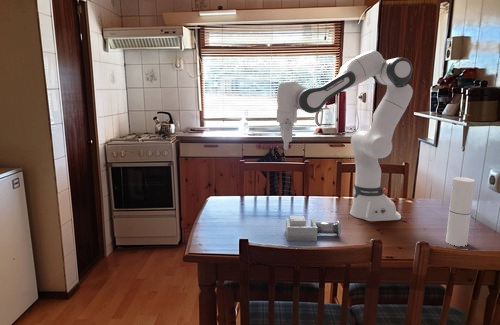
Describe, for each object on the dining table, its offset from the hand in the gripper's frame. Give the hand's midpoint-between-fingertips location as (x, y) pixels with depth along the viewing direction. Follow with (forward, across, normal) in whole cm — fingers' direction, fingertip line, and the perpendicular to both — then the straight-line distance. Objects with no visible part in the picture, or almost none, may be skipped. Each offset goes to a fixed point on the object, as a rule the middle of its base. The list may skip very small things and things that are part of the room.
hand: (285, 149), depth 164 cm
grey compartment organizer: (+31, -24, -10) cm, 41 cm away
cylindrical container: (+31, -29, -64) cm, 77 cm away
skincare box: (+32, -24, -4) cm, 40 cm away
